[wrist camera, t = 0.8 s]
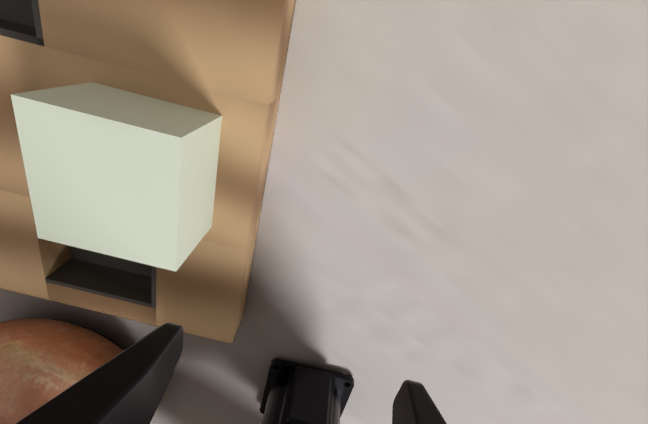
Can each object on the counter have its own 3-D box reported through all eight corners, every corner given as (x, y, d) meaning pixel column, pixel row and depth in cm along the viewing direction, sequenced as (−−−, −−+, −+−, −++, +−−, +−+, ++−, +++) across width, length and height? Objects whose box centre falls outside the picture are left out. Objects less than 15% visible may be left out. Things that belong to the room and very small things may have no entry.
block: (211, 226, 18) (175, 271, 15) (101, 199, 18) (37, 237, 14) (222, 115, 15) (181, 137, 12) (91, 82, 15) (10, 94, 12)
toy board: (243, 316, 24) (225, 359, 21) (-93, 234, 24) (-165, 266, 20) (310, -91, 14) (296, -133, 10) (-288, -256, 13) (-504, -356, 10)
